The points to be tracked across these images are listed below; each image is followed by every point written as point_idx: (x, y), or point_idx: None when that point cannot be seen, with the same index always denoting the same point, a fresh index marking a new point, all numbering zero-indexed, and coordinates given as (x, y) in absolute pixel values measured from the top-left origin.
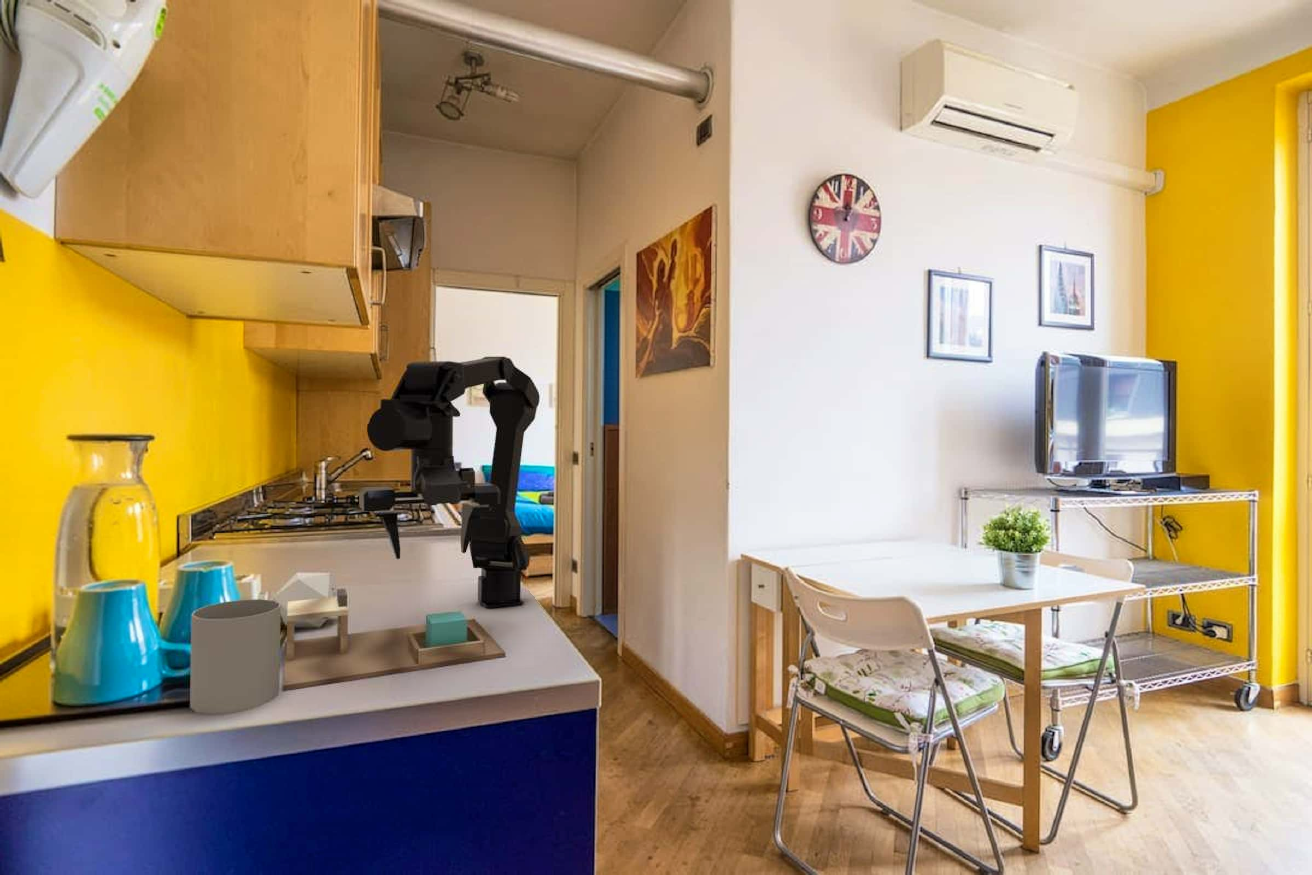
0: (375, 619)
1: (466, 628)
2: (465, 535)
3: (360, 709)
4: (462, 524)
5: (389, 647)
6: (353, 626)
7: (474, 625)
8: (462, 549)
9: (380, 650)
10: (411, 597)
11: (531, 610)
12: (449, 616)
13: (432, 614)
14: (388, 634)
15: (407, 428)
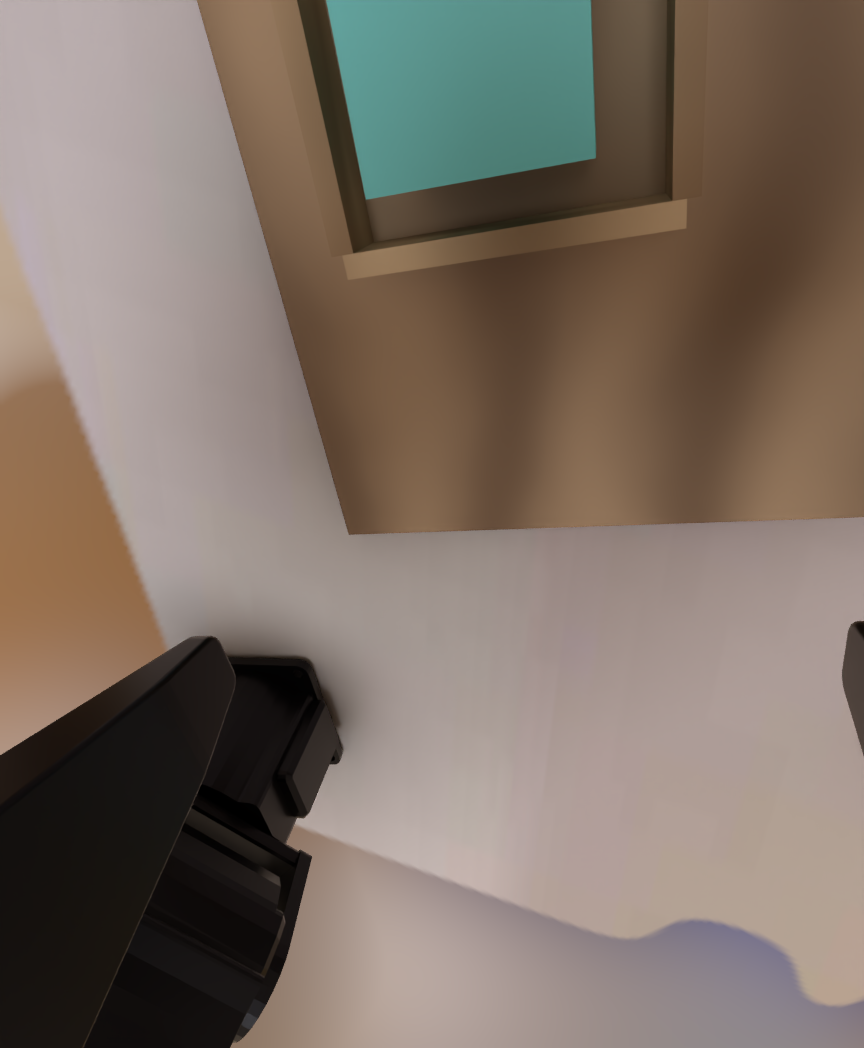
0: (735, 699)
1: None
2: (78, 747)
3: None
4: (86, 962)
5: (786, 213)
6: None
7: (346, 446)
8: (210, 671)
9: (848, 171)
10: (564, 859)
11: (153, 590)
12: (434, 46)
13: (549, 151)
14: (741, 443)
15: None
